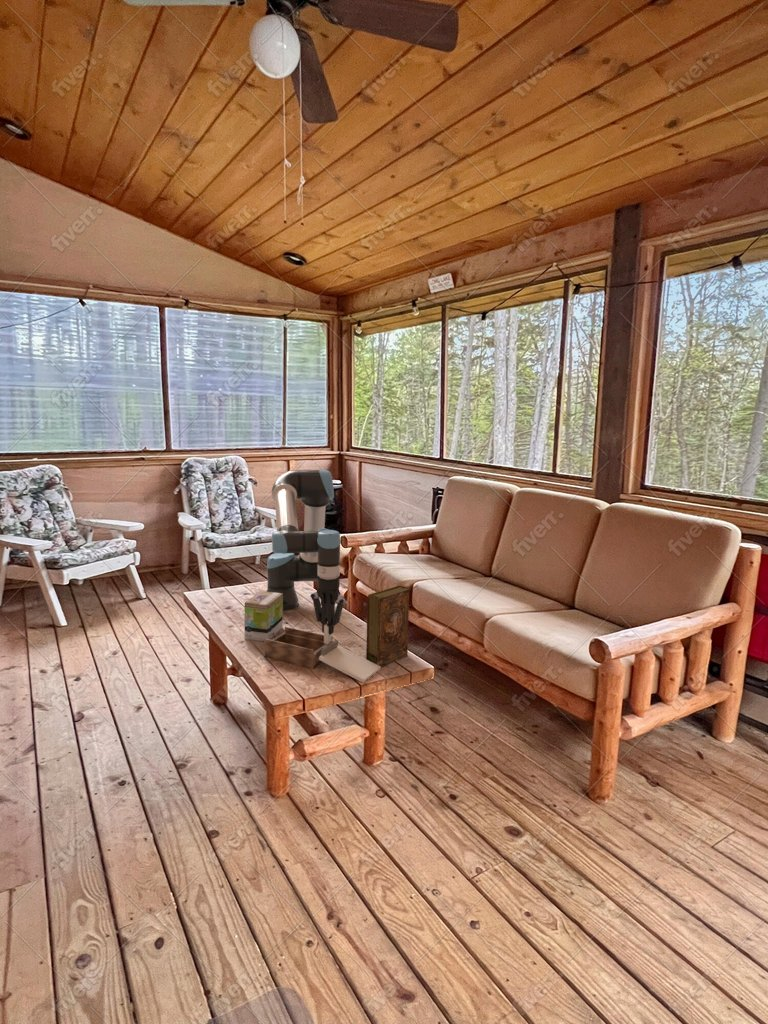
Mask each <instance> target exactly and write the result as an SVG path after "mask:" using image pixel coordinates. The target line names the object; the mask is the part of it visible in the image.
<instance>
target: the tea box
mask: <svg viewBox="0 0 768 1024" xmlns="http://www.w3.org/2000/svg"><path fill="white" fill-rule="evenodd" d="M283 615H284V610H283V593H274V592H266V591H263V590H260V591H258V593H256V594H254V595H253V596H252V597H251V598H249V599H248V600H246V601H245V602H244V633H243V635H244V636H243V637H244V639H245V640H250V641H251V640H252V641H259V642H264V639H270V640H272V639H273V637H274V636H275V635H276V634H278V633H279V632H280V631H281V630H282V629H283V628H284V626H283V624H284V622H283V619H284V616H283Z"/></svg>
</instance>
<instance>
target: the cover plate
mask: <svg viewBox="0 0 768 1024" xmlns="http://www.w3.org/2000/svg"><path fill="white" fill-rule="evenodd" d="M319 660H321V661H322V663H325V664H326V665H327V666H330V667H332V668H334V669H336V670H338V671H339V672H341V673H343V674H345V675H347V676H350V677H351V678H353V679H355V680H357V681H359V682H360V683H363V684H364V683H366V682H367V681H368V680H370V679H371V678H372V677H373V676H374V675H376V674H377V673H378V672H379V671H380V670H381V669H382V667H381V666H379V665H377V664H375V663H373V662H371V661H369V660H367V659H366V657H363V656H360V655H359V654H356V653H355V652H352V651H350V650H348V649H346V648H344V647H342V646H341V645H339V640H338V639H333V641H332V642H330V643H329V644H327V645H326V646H324V647H322V650H321V656H319ZM378 670H379V671H378ZM377 671H378V672H377ZM376 672H377V673H376ZM375 673H376V674H375ZM373 674H374V675H373ZM372 675H373V676H372ZM371 676H372V677H371ZM370 677H371V678H370ZM367 679H368V680H367ZM366 680H367V681H366Z"/></svg>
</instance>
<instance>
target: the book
mask: <svg viewBox="0 0 768 1024" xmlns="http://www.w3.org/2000/svg"><path fill="white" fill-rule="evenodd" d="M366 601H367V603H366V605H367V607H366V647H365V648H366V652H365V654H366V655H365V659H367V660H369V661H371V662H373V663H375V664H377V665H379V666H382V667H385V666H387V665H389V664H388V663H390V664H392V663H394V662H397V661H399V660H401V658H402V659H405V658H407V657H408V654H409V653H408V651H409V649H408V648H409V646H408V644H409V619H410V618H409V614H410V611H409V610H410V588H409V587H407V586H404V585H395V586H394V587H392V586H391V587H389V588H386V589H383V590H379V591H376V592H372V593H369V594H368V595H367V599H366ZM396 660H397V661H396ZM393 661H394V662H393ZM391 662H392V663H391ZM386 664H387V665H386ZM384 665H385V666H384Z"/></svg>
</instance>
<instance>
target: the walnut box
mask: <svg viewBox="0 0 768 1024" xmlns="http://www.w3.org/2000/svg"><path fill="white" fill-rule="evenodd" d="M333 638H334V637H333V636H332V641H334V639H333ZM332 641H331V642H332ZM263 643H264V645H263V646H264V658H266V659H270V660H275V661H279V662H282V663H285V664H286V663H287V664H290V665H291V664H292V665H294V666H299V667H302V668H307V669H311V670H314V669H315V668H317V667H318V666H319V665H320V664H322V663H323V662H322V661H321V660H319V656H321V650H322V647H324V646H326V645H327V644H325V643H324V634H323V633H322V634H321V633H317V632H312V631H307V630H303V629H297V628H293V627H288V626H285V627H284V632H282V633H280V634H279V635H276V636H275V637H274V638H273V637H272V638H271V639H264V641H263ZM328 644H329V643H328Z"/></svg>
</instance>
